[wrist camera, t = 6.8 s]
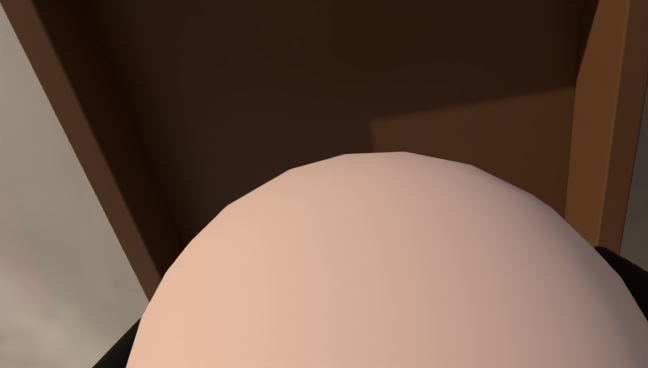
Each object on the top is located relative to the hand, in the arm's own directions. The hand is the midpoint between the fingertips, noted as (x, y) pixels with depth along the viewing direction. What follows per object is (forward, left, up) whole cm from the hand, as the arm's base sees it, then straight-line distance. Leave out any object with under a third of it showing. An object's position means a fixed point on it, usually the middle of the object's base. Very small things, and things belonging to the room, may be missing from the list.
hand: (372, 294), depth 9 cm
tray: (0, 0, -9) cm, 9 cm away
